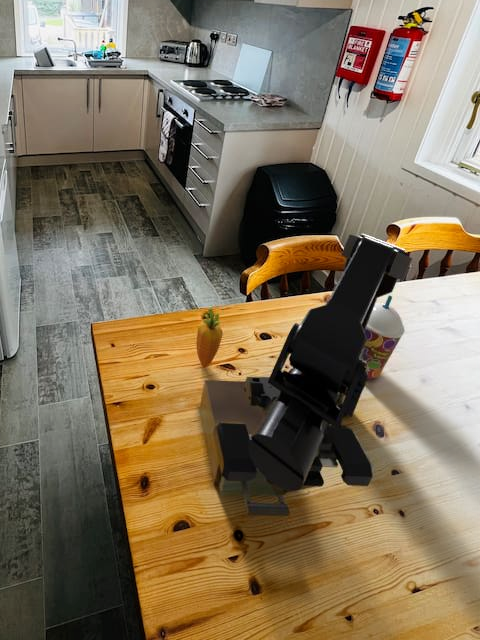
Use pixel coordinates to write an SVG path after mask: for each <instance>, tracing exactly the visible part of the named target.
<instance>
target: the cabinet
mask: <svg viewBox="0 0 480 640" xmlns="http://www.w3.org/2000/svg"><path fill="white" fill-rule="evenodd" d="M203 384H204V385H203V389H202V393H201V399H200V404H199V408H198V409H199V417H200V421H201V425H202V431H203V436H204V441H205V447H206V452H207V457H208V462H209V468H210V472H211V477H212V483H213V485H218V486H219V483H220V479H221V470H220V465H219V461H218V456H217V451H216V446H215V442H214V437H213V431H214V426H215V425H216V423H217V422H218V421H234V422H243V423H245V424H246V427H247V431H248V434H253V433H254V431H255V430H256V428H257V426H258V425H259V423H260V421H261V420H262V417H263V412H262V410H261V408H260V407H258V406H250V405H249V403H248V402H247V400H246V398H245V395H244V384H245V380H244V381H241V380H216V379H212V380H211V379H205V380H204V383H203Z"/></svg>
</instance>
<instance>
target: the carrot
mask: <svg viewBox="0 0 480 640" xmlns="http://www.w3.org/2000/svg"><path fill="white" fill-rule="evenodd" d="M207 311H208V314H205V315H204V316H205V319H203V320H202V321H201V323H200V324H199V326H198V328H197V332H196V342H195V343H196V355H197V357H198V360H199V363H200V365H201V366H202V367H203V368H205V367H208V366H209V365H210V364H211V363H212V362H213V360H214V358H215V357H216V354H217V353H218V350H219V349H220V345H221V341H222V339H223V332H224V331H223V330H222V328H221V326H220V321H219V318H220V314H219V313H218V312H215V313H214V311H213V308H212V307H211V306H210V307H207ZM214 314H215V315H214Z"/></svg>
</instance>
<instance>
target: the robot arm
mask: <svg viewBox="0 0 480 640" xmlns="http://www.w3.org/2000/svg"><path fill="white" fill-rule="evenodd" d="M408 255H409V253H408V252H407V251H406V249H405V248H402V247H400V246H397V245H395V244H392V243H389V242H386V241H384V240H382V239H378V238H377V237H374V236H371V235H368V234H366V233H361V234H358V235H354V234H349V235H348V237H347V240H346V242H345V244H344V246H343V249H342V252H341V254H340V256H342V257H343V258H346V260H345V263H344V266H343V270H342V271H343V273H341V274H342V275H341V276H340V278H339V280H338V282H337V283H336V286H335V287H334V289H333V290H332V293H331V294H330V296H329V298H328V299H327V302H326V303H325V304H324V305H320V306H317V307H313V308H310V309H309V310H308V312H307V313H306V315H305V316H304V317H303V319H302V321H301V322H300V324H299V323H297V322H295V323H294V324H293V325H292V327H291V328H290V330H289V333H287V337H286V339H285V341H284V344H283V346H282V348H281V349H280V350H281V351H280V353H279V355H278V357H277V359H276V361H275V364H274V366H273V369H272V371H271V373H270V376H246V378H245V380H244V382H245V384H244V395H245V398H246V400H247V402H248V403H249V405H250V406H258V407H260V408H261V410H262V412H263V417H262V420H261V421H260V423H259V425H258V426H257V428H256V430H255V431H254V433H253V434H248V431H247V427H246V424H245V423H243V422H234V421H218V422H217V423H216V425H215V426H214V431H213V437H214V442H215V446H216V451H217V456H218V461H219V465H220V470H221V475H222V476H223V477H224V478H225V479H226V480H227V481H246V482H248V481H250V480H252V479H254V478H255V477H256V474H257V469H258V470H259V471H260V473H261V474H262V475H263V476H264V477H265V480H266V482H267V483H268V484H270V485H272V487H273V490H274V493H275V495H274V496H277V495H282V494H286V495H287V494H290V493H293V492H299V491H302V490H309V489H313V488H321V487H323V486H324V484H325V481H324V478H323V475H322V473H321V472H322V470H323V468H338V466H340V468H341V470H342V473H341V474H340V477H341V479H342V481H343V483H344V484H345V485H347V486H349V487H350V486H352V487H353V486H354V487H355V486H356V487H369V486H370V483H371V482H372V479H373V477H374V475H375V473H374V472H375V471H374V466H373V464H372V463H373V462H371V459H370V458H369V456H368V454H367V452H366V450H365V449H364V447H363V445H362V443H361V440H360V439H359V437H358V435H357V434H356V432H355V431H354V430H353V428H352V427H349V426H347V425H342V422H343V421H344V418H346V417H350V418H352V417H353V416H354V413H355V410H356V407H357V405H358V403H359V400H360V398H361V395H362V393H363V390H364V389H365V387H366V383H367V381H368V379H367V378H368V376H369V375H368V373H367V371H366V368H367V367H365V364H366V361H364V360H363V358H362V355H361V353H362V351H363V348H364V346H365V343H366V341H367V338H366V335H365V329H366V327H367V324H368V321H369V319H370V316H371V314H372V311H373V309H374V306H375V303H376V302H378V301H377V300H378V299H379V298H380V297H383V296H386V295H390V294H392V293H393V291H394V289H395V287H396V285H397V282H398V280H399V281H402V282H404V281H405V278H406V276H407V273H408V271H409V268H410V267H411V263H412V261H413V258H412V257H410V256H408ZM287 360H288V361H289V366H290V367H292V368H290V369H289V370H288V371H287V370H283V368H284V367H285V364H286V362H287ZM282 496H283V495H282Z"/></svg>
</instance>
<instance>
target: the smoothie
mask: <svg viewBox="0 0 480 640" xmlns="http://www.w3.org/2000/svg"><path fill="white" fill-rule="evenodd" d="M392 299H393V296H392V295H390V294H388V296H387V298H386V301H385V302H380V301H376V303H375V306H374V309H373V311H372V314H371V316H370V319H369V321H368V324H367V327H366V329H365V335H366V338H367V341H366V343H365V346H364V348H363V351H362V353H361V355H362V358H363V360H364V361H366V364H365V367H367V368H366V371H367V373H368V375H369V376H368V378H367V380H374V379H375V378H377V377H379V376H381V373H382V372H383V370H384V368H385V366H386V364H387V363H388V361H389V360H390V358H391V357H392V354H393V353H394V351H395V349H396V347H397V345H398V344H399V342H400V340H401V338H402V336H403V335H404V334H405V332H406V330H405V329H406V328H405V326H404V324H403V319H402V317H401V315H400V313H398V311H397V310H396V309H395V308H394V307H392V305H391V302H392Z"/></svg>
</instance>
